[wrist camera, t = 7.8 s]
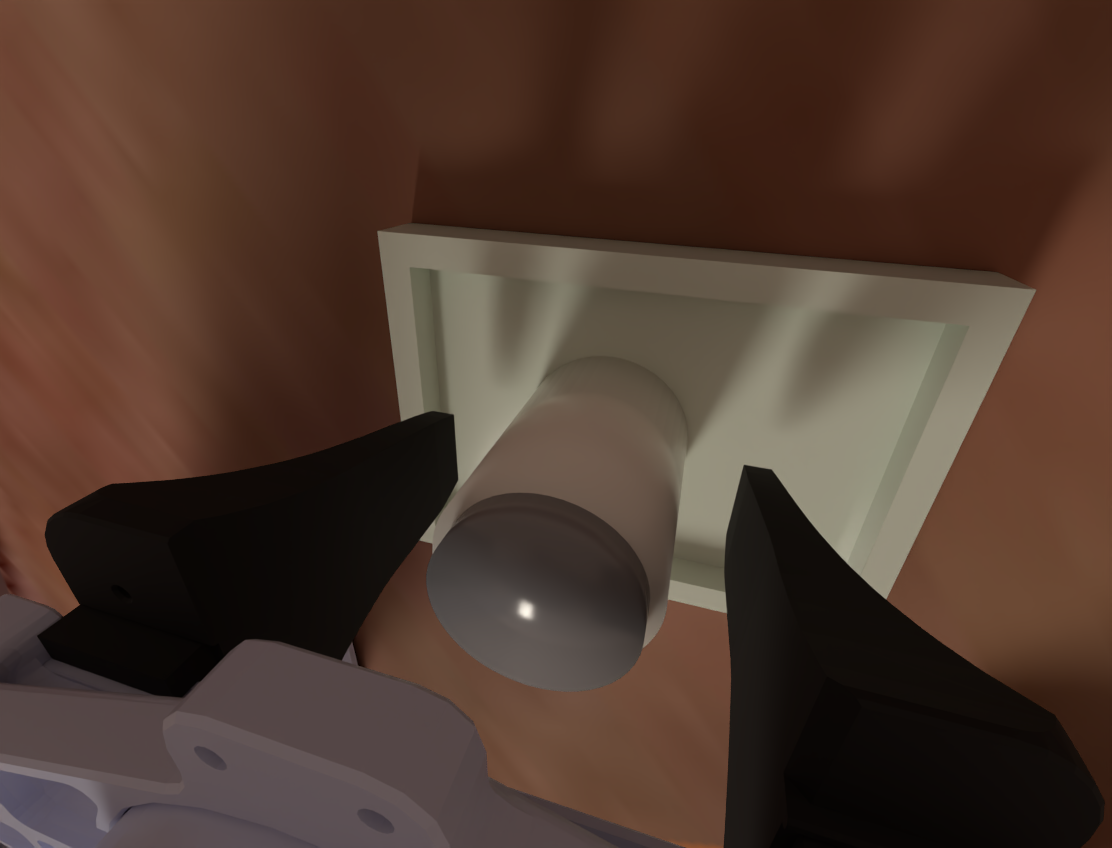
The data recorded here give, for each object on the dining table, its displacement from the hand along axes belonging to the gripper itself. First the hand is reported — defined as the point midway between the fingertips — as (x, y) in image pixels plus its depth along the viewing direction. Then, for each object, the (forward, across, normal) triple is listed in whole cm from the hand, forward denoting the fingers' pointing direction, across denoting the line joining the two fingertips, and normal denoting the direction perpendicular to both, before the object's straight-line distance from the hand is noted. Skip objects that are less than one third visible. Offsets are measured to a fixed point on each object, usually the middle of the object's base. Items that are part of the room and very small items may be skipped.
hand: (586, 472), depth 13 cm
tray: (+3, -1, 0) cm, 3 cm away
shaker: (+2, 0, 0) cm, 2 cm away
